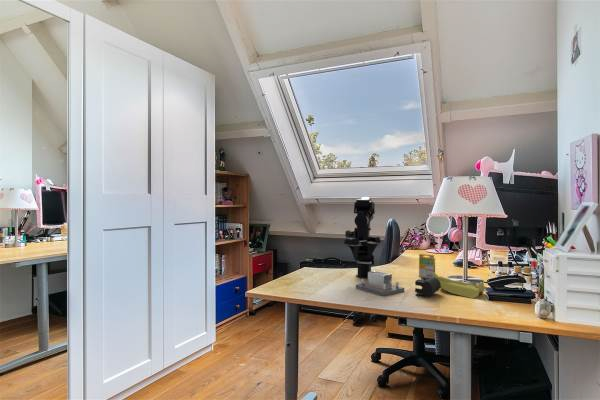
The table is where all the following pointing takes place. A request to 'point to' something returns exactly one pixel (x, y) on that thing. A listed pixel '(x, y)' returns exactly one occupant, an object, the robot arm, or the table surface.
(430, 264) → the crayon box
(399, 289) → the tray
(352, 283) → the table surface
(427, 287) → the end cap
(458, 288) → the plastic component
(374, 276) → the drive
